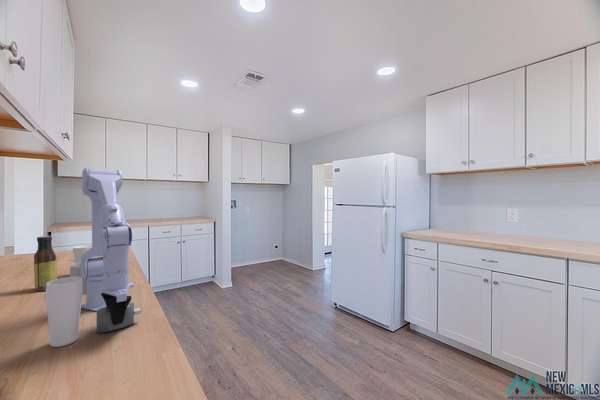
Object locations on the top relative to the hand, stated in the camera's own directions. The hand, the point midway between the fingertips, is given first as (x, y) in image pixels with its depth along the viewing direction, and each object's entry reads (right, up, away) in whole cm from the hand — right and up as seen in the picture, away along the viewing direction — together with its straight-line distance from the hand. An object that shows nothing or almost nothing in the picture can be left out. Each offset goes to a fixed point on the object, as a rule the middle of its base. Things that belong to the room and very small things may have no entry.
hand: (115, 320), depth 73 cm
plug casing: (0, -1, 0) cm, 1 cm away
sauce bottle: (-46, -1, +29) cm, 55 cm away
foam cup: (-45, -1, +47) cm, 65 cm away
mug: (-29, -2, +28) cm, 41 cm away
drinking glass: (-7, -2, -7) cm, 11 cm away
